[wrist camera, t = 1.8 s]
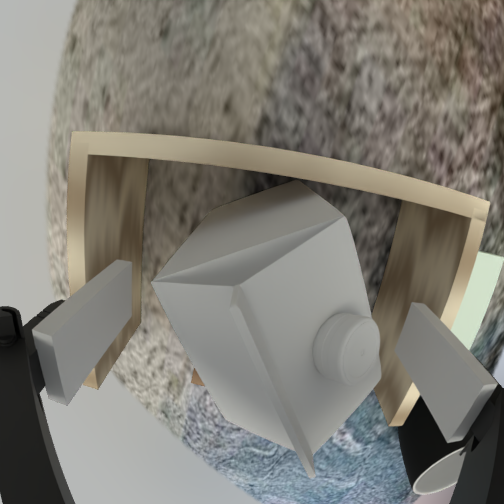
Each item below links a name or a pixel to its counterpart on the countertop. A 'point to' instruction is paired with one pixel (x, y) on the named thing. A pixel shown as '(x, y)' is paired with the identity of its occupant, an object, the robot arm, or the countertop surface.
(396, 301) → the frame
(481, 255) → the mat
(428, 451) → the mug
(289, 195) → the milk carton
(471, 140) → the countertop surface
